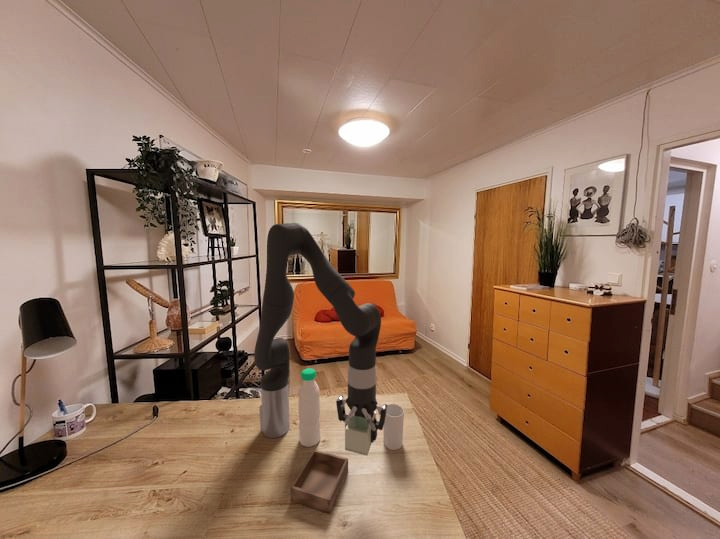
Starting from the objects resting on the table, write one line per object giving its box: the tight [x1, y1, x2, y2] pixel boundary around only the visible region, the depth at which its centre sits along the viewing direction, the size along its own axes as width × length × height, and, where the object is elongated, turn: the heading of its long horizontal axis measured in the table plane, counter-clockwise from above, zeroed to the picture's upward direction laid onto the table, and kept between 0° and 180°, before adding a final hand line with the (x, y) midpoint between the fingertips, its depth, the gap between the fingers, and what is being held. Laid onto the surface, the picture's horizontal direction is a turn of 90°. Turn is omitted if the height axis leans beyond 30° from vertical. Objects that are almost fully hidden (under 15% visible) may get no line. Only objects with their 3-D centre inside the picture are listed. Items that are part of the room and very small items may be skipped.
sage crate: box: [344, 410, 377, 457], centre depth 73 cm, size 6×9×6 cm, turn 163°
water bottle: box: [297, 368, 321, 448], centre depth 90 cm, size 7×7×25 cm
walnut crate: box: [290, 449, 349, 515], centre depth 75 cm, size 11×13×4 cm
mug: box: [383, 402, 405, 451], centre depth 91 cm, size 10×7×12 cm, turn 171°
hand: (361, 437), depth 73 cm, fingers closed on sage crate, 6 cm apart
